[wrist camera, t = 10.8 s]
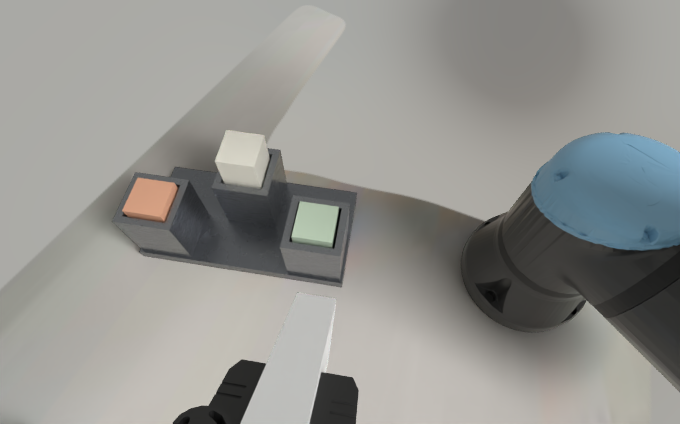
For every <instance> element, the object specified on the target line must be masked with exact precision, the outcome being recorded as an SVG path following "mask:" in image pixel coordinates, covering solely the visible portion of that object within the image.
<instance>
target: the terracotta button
mask: <svg viewBox="0 0 680 424" xmlns="http://www.w3.org/2000/svg"><path fill="white" fill-rule="evenodd" d="M177 192H178V188H177V186H176V184H175V183H172V182H165V181H158V180H151V179H144V178H137V180H136V182H135V184H134V186H133V189H132V191H131V193H130V195H129V197H128V199H127V201H126V203H125V206H124V208H123V210H122V211H123V212H124V213H125V214H126V215H127V216H128V217H130V218H136V219H143V220H149V221H156V222H162V223H165V221H166V219H167V216H168V214H169V212H170V209H171V207H172V204H173V202H174V199H175V197H176V194H177Z"/></svg>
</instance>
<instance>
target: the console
mask: <svg viewBox="0 0 680 424" xmlns="http://www.w3.org/2000/svg"><path fill="white" fill-rule="evenodd" d="M267 149H268V153H269V157H270V164H269V167H268V171H267V174H266V178H265V181H264V184H263V188H262V189H258V188H251V187H244V186H237V185H230V184H225V183H224V181H223V179H222V177H221V175H220V172H219V170H218V172H217V173H215V172H208V171H201V170H194V169H187V168H180V167H175V168H174V171H173V173H172V175H171V177H164V176H157V175H150V174H143V173H137V172H135V174H134V176H133V179H132V181H131V183H130V185H129V187H128V189H127V191H126V193H125V195H124V197H123V200H122V202H121V204H120V206H119V208H118V210H117V212H116V214H115V216H114V218H113V221H112V222H113V223H114V224H115V225H116V226H117V227H118V228H119V229H121V230H122V231H123V232H124V233H125V234H126V235H127V236H128V237H129V238H130V239H131V240H132V241H133V242H135V243H136V244H137V245H138V246H139V247H140V251H139V252H140V253H141V254H143V255H144V256H148V257H154V258H160V259H167V260H173V261H179V262H186V263H192V264H198V265H204V266H211V267H217V268H223V269H230V270H236V271H242V272H249V273H255V274H261V275H267V276H274V277H280V278H286V279H293V280H299V281H305V282H312V283H318V284H324V285H330V286H337V287H342V283H343V277H344V271H345V265H346V258H347V252H348V246H349V240H350V234H351V228H352V222H353V216H354V210H355V203H356V197H357V193H355V192H348V191H341V190H334V189H327V188H320V187H313V186H306V185H299V184H292V183H287V182H286V177H285V172H284V167H283V162H282V156H281V151H280V150H275V149H269V148H267ZM137 178H144V179H151V180H158V181H165V182H172V183H175V184H176V186H177V188H178V192H177V194H176V197H175V199H174V202H173V204H172V207H171V209H170V212H169V214H168V216H167V219H166V221H165V223H162V222H156V221H149V220H143V219H136V218H130V217H128V216H127V215H126V214H125V213H124V212H123V211H122V210H123V208H124V206H125V203H126V201H127V199H128V197H129V195H130V193H131V191H132V189H133V186H134V184H135V182H136V180H137ZM300 201H302V202H309V203H316V204H323V205H330V206H337V207H339V225H338V232H337V237H336V243H335V249H333V248H326V247H320V246H313V245H307V244H300V243H294V242H293V241H292V237H291V236H292V232H293V228H294V224H295V220H296V215H297V211H298V207H299V203H300Z"/></svg>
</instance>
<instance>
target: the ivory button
mask: <svg viewBox="0 0 680 424" xmlns="http://www.w3.org/2000/svg"><path fill="white" fill-rule="evenodd" d="M215 163H216V166H217V168H218V170H219V172H220V175H221V177H222V179H223V181H224V183H225V184H230V185H237V186H244V187H251V188H258V189H262V188H263V184H264V181H265V178H266V174H267V171H268V167H269V164H270V157H269V153H268V149H267V145H266V140H265V136H264V135H260V134H253V133H245V132H238V131H231V130H226V132H225V135H224V138H223V140H222V143H221V146H220V148H219V151H218V154H217V156H216V159H215Z"/></svg>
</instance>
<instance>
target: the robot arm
mask: <svg viewBox="0 0 680 424" xmlns="http://www.w3.org/2000/svg"><path fill="white" fill-rule="evenodd" d="M461 270H462V276H463V280H464V283H465V286H466V288H467V290H468V292H469V294H470V296H471V297H472V299H473V300H474V302H475V303H476V304H477V305H478V306H479V308H480V309H481V310H482V311H483V312H484V313H486V314H487V315H488V316H489V317H491V318H492V319H493V320H495V321H497V322H498V323H500V324H502V325H504V326H506V327H509V328H511V329H515V330H518V331H523V332H543V331H548V330H551V329H554V328H556V327H558V326H560V325H562V324H564V323H566V322H568V321H570V320H571V319H572V318H573V317H575V316H576V315H577V314H578V313H579V312H580V310H581V309H582V308H583V306H584V304H585V302H586V300H587V301H588V302H589V303H590V304H591V305H592V306H594V307H595V308H596V309H597V310H598V311H599V312H600V313H601V314H602V315H603V316H604V317H605V318H606V319H607V320H608V321H609V322H610V323H611V324H612V325H613V326H614V327H615V328H616V329H617V330H618V331H619V332H620V333H621V334H622V335H623V336H624V337H625V338H626V339H627V340H628V341H629V342H630V343H631V344H632V345H633V346H634V347H635V348H636V349H637V350H638V351H639V352H640V353H641V354H642V355H643V356H644V357H645V358H646V359H647V360H648V361H649V362H650V363H651V364H652V365H653V366H654V367H655V368H656V369H657V370H658V371H659V372H660V373H661V374H662V375H663V376H664V377H665V378H666V379H667V380H668V381H669V382H670V383H671V384H672V385H673V386H674V387H675V388H676V389H677V390H678V391H679V392H680V152H678V151H677V150H675V149H673V148H671V147H669V146H667V145H665V144H663V143H661V142H659V141H656V140H653V139H650V138H647V137H644V136H640V135H635V134H629V133H620V134H613V133H609V132H605V133H595V134H591V135H587V136H583V137H581V138H578V139H576V140H573V141H572V142H570V143H568V144H567V145H565V146H564V147H563V148H562V149H560V150H559V151H558V152H557V153H556V154H555V155H554V156H553V158H552V159H551V160H550V161H548V162H547V163H545V164H544V165H543V166H542V167H541V168H540V169H539V170H538V171H537V173H536V175H535V177H534V178H533V181H532V182H531V183H530V184H529V186H528V187H527V188H526V190H525V191H524V192H523V193H522V195H521V196H520V197H519V198H518V200H517V201H516V202H515V204H514V205H513V206H512V207H511V209H510V210H509V211H508V212H506V213H503V214H501V215H498V216H496V217H493V218H491V219H489V220H487V221H486V222H484V223H483V224H481V225H480V226H479V227H478V228H477V229H476V230H475V231H474V233H473V234H472V236H471V237H470V238H469V240H468V241H467V243H466V245H465V247H464V250H463V254H462V259H461ZM335 306H336V298H330V297H324V296H318V295H312V294H305V293H299V292H297V295H296V297H295V299H294V301H293V304H292V306H291V308H290V311H289V313H288V315H287V318H286V320H285V322H284V324H283V327H282V329H281V331H280V334H279V336H278V338H277V340H276V343H275V345H274V347H273V350H272V352H271V354H270V357H269V359H268V361H267V363H266V364H265V363H259V362H253V361H248V360H240V361H239V362H238V363H237V364H235V365H234V366H233V367H231V368H230V369H229V370H228V372H227V374H226V376H225V378H224V379H223V381H222V384H221V385H220V387H219V388H218V390H217V392H216V395H214V397H213V399H212V401H211V403H210V404H209V406H199V407H195V408H191V409H189V410H187V411H186V412H184V413H182V414H180V415H179V416H178V418H177V419H176V420H175V421H174V422H173V424H356V413H357V402H358V388H357V386H356V384H355V381H354V379H353V378H352V377H347V376H341V375H335V374H329V373H326V369H327V364H328V359H329V351H330V344H331V336H332V329H333V321H334V313H335Z"/></svg>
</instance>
